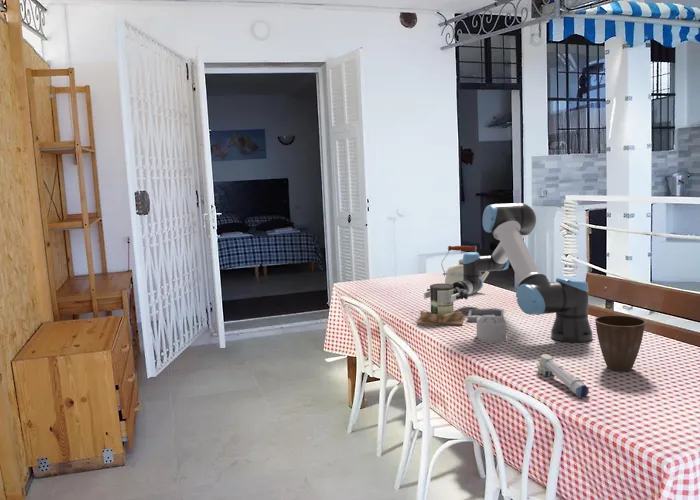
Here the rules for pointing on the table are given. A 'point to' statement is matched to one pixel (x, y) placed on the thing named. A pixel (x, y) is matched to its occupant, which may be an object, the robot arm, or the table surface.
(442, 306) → the coffee can
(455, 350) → the table surface
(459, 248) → the kettle
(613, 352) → the plant pot
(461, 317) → the brown flat cloth piece
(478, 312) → the gray square tray
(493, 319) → the lumpy-topped squat cylinder
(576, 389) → the toothbrush head
